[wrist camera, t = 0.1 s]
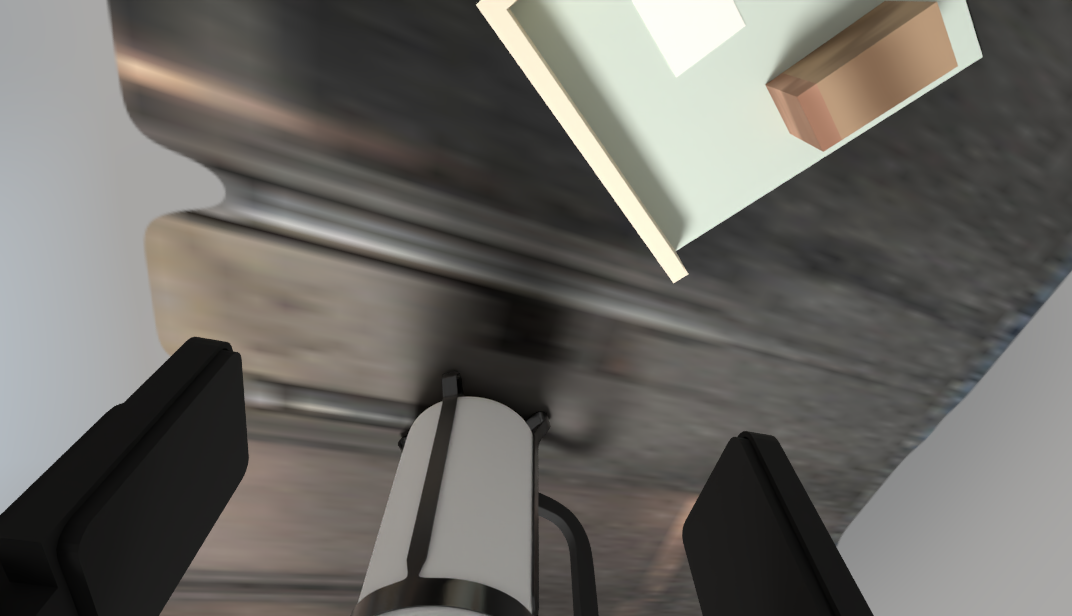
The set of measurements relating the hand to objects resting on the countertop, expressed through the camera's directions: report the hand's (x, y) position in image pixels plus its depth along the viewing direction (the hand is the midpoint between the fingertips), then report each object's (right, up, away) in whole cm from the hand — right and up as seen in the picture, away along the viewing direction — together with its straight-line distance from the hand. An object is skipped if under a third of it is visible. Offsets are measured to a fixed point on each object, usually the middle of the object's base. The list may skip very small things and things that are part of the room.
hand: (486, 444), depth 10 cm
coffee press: (-4, -9, +42) cm, 43 cm away
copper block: (+21, +18, +25) cm, 37 cm away
